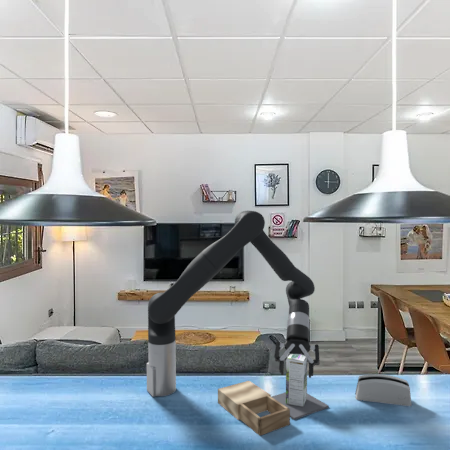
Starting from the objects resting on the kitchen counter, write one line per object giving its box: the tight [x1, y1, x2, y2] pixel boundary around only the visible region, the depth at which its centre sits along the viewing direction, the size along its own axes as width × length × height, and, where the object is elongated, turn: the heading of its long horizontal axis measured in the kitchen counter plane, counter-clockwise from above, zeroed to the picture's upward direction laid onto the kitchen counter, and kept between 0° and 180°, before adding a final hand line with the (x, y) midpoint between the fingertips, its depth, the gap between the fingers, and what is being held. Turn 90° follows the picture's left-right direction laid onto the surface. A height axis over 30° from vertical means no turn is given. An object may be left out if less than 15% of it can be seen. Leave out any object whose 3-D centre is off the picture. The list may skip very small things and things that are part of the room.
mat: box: [271, 391, 330, 421], centre depth 120 cm, size 14×14×1 cm
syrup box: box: [285, 354, 308, 407], centre depth 120 cm, size 6×6×14 cm
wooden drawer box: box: [217, 380, 291, 436], centre depth 115 cm, size 22×12×4 cm, turn 31°
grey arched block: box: [355, 373, 412, 407], centre depth 122 cm, size 17×5×10 cm, turn 74°
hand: (296, 375), depth 119 cm, fingers open, 8 cm apart
